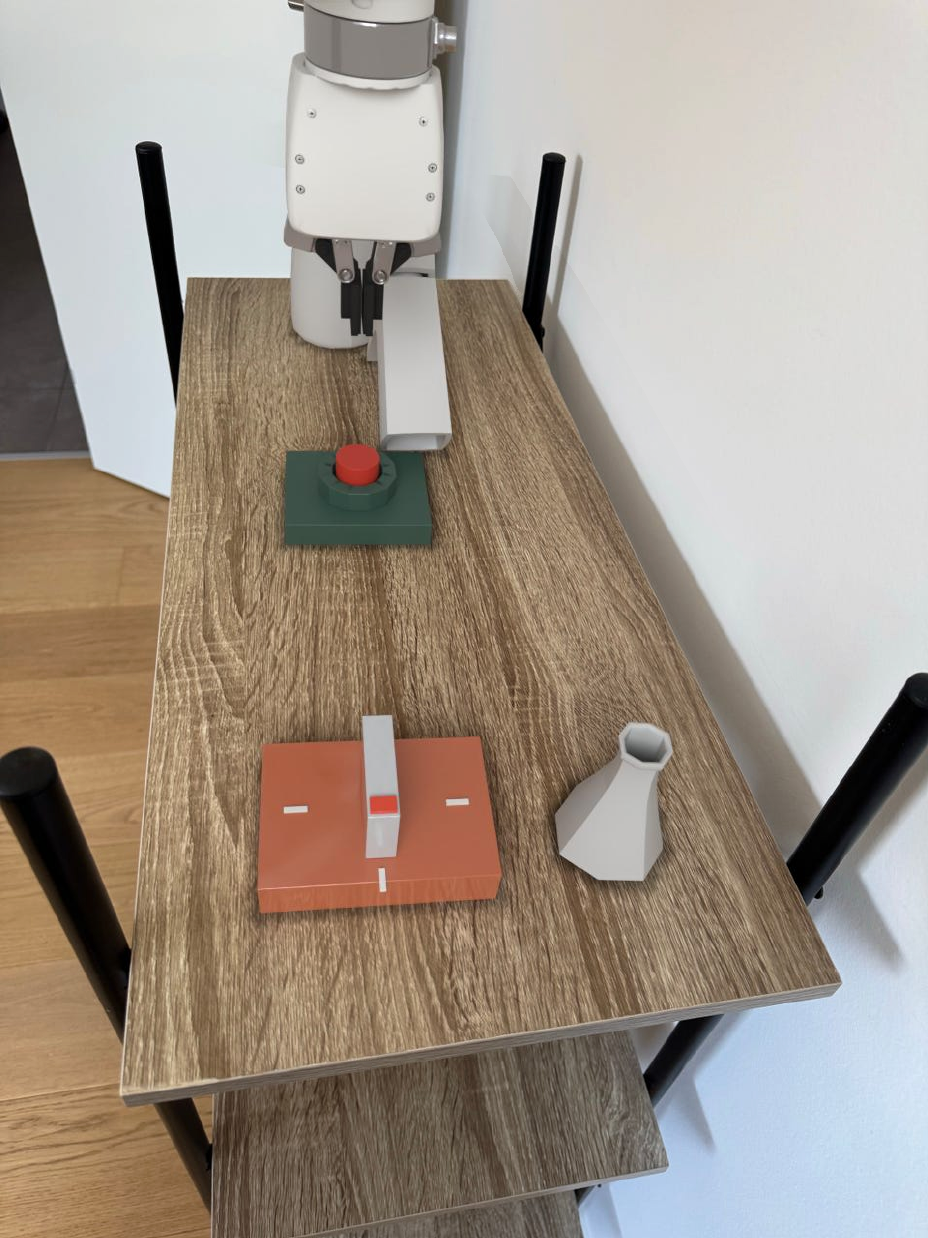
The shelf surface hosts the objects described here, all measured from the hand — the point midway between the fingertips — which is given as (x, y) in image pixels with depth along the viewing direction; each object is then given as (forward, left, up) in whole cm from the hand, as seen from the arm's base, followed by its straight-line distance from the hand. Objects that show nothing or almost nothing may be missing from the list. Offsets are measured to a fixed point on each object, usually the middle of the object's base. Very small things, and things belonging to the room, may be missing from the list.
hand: (361, 326), depth 67 cm
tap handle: (0, -32, -14) cm, 35 cm away
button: (0, 0, -13) cm, 13 cm away
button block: (0, 0, -17) cm, 17 cm away
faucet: (+5, +15, -17) cm, 23 cm away
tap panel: (0, -32, -17) cm, 36 cm away
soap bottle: (-1, +30, -17) cm, 35 cm away
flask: (+15, -33, -17) cm, 40 cm away
